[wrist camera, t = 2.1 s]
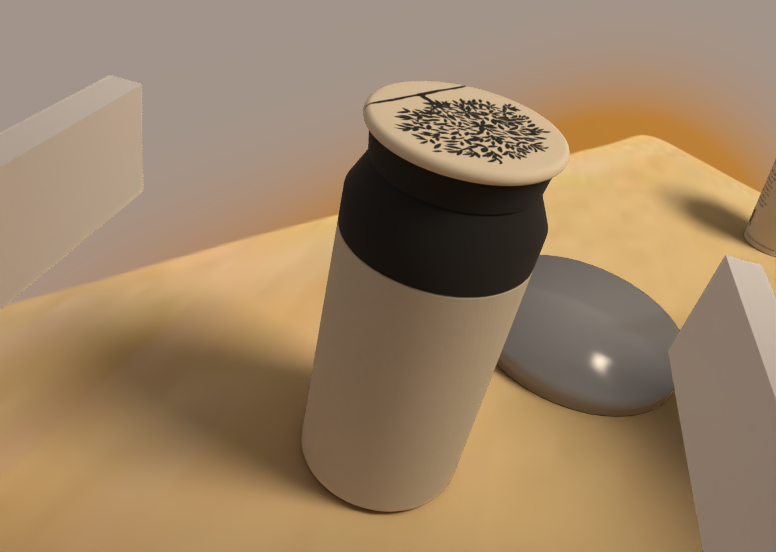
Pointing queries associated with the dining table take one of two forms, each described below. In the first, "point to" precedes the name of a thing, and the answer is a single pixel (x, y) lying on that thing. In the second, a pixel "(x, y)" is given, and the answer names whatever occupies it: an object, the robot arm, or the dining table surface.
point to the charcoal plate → (590, 341)
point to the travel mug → (424, 286)
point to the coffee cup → (764, 218)
